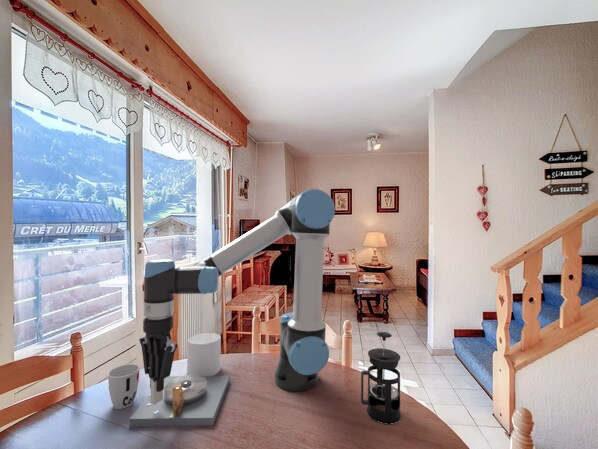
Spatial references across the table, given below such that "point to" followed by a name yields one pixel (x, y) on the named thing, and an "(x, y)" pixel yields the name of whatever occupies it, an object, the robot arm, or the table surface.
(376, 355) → the french press
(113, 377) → the cup
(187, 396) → the dial
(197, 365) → the cup
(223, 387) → the board
